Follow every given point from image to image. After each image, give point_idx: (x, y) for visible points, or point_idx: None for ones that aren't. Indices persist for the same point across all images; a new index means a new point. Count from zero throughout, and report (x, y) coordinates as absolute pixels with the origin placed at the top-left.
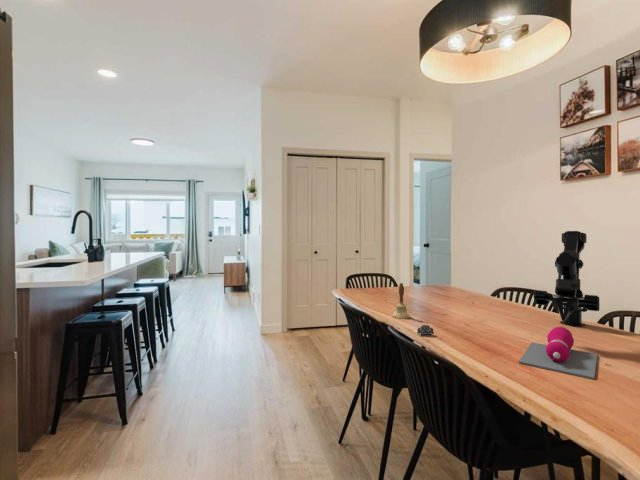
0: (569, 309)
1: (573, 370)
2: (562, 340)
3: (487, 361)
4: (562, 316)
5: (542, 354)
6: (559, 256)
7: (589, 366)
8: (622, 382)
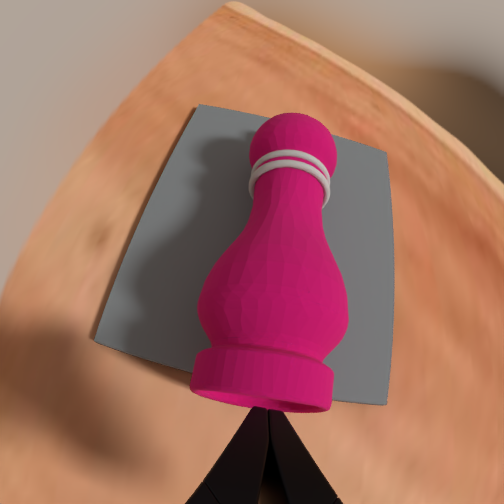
0: (187, 500)
1: (244, 125)
2: (276, 193)
3: (441, 154)
4: (281, 427)
5: (336, 235)
6: None
7: (182, 168)
8: (132, 116)
